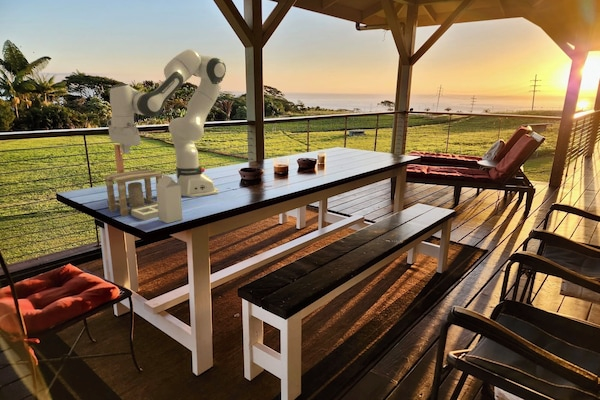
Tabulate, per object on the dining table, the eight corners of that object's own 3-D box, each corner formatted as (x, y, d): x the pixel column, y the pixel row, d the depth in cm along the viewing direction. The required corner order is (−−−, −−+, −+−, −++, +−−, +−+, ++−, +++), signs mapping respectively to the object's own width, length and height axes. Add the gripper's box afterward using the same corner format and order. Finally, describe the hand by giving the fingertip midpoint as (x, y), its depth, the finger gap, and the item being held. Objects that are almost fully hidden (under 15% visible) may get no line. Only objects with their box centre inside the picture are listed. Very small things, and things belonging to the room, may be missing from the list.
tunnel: (165, 206, 181) (162, 172, 177) (123, 216, 166) (119, 179, 161) (149, 201, 189) (146, 168, 184) (109, 210, 174) (104, 175, 169)
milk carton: (167, 223, 158) (163, 178, 153) (158, 219, 163) (154, 175, 158) (182, 219, 164) (179, 175, 158) (173, 216, 168) (170, 173, 163)
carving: (139, 205, 182) (137, 180, 179) (148, 208, 177) (146, 183, 174) (126, 208, 177) (124, 183, 174) (135, 211, 173) (132, 185, 169)
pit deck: (173, 212, 172) (173, 207, 172) (144, 220, 162) (143, 214, 161) (160, 208, 178) (160, 203, 178) (131, 215, 168) (131, 210, 167)
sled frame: (159, 207, 179) (154, 147, 171) (130, 214, 168) (123, 151, 160) (136, 199, 191) (130, 143, 183) (107, 205, 180) (100, 146, 172)
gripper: (142, 123, 166) (145, 155, 170) (118, 120, 178) (121, 150, 182) (128, 124, 161) (131, 157, 165) (104, 121, 173) (108, 151, 177)
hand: (126, 153), depth 173 cm, fingers closed
